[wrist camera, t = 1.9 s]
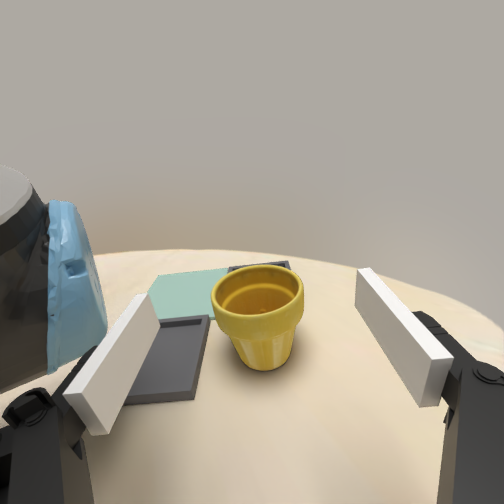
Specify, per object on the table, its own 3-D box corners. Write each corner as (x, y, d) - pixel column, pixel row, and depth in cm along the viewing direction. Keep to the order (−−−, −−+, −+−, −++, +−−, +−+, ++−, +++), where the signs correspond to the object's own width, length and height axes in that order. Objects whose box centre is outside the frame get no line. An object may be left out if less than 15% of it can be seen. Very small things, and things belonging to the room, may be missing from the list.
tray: (87, 408, 26) (81, 399, 26) (134, 329, 37) (131, 322, 37) (194, 399, 26) (190, 390, 25) (210, 321, 37) (208, 314, 36)
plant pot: (241, 316, 37) (232, 260, 33) (310, 326, 34) (309, 265, 29) (210, 374, 28) (192, 310, 24) (298, 396, 25) (294, 325, 21)
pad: (126, 328, 38) (125, 325, 38) (159, 277, 51) (158, 275, 51) (220, 318, 37) (219, 316, 37) (228, 269, 51) (227, 267, 50)
